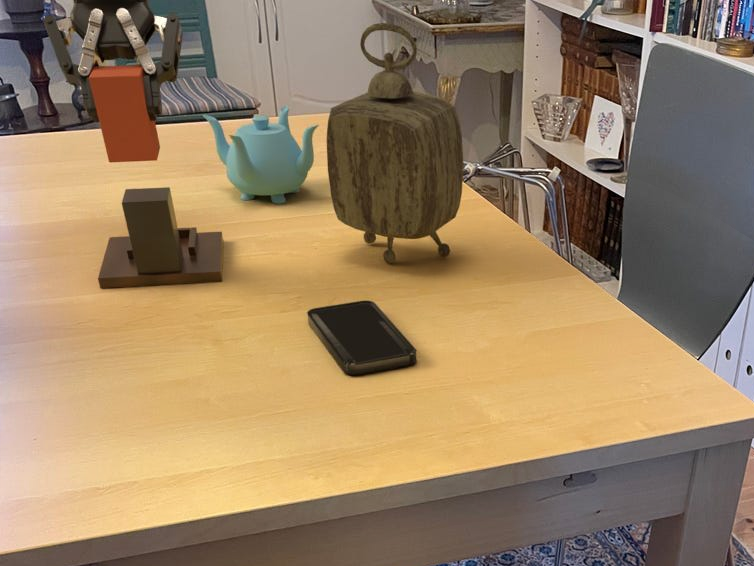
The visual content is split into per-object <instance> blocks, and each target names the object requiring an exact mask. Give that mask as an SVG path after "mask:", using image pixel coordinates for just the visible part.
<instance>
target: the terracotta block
mask: <svg viewBox="0 0 754 566" xmlns="http://www.w3.org/2000/svg"><path fill="white" fill-rule="evenodd" d="M143 76H145V72H144V69H143V67H142V65H138V64H135V65H134V64H132V65H131V64H130V65H105V66H95V67H94V69H93V71H92V73H91V74H90V76H89V80H90V85H91V89H92V93H93V97H94V101H95V105H96V110H97V114H98V118H99V122H100V123H99V126H100V130H101V135H102V139H103V143H104V148H105V151H106V155H107V159H108V163H131V162H132V163H135V162H154V161H155V162H156V161H158V159H159V154H160V149H161V144H160V139H159V135H158V129H157V124H156V121H150V118H149V115H148V112H147V108H146V99H145V90H144V82H143Z"/></svg>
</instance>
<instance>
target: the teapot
mask: <svg viewBox="0 0 754 566" xmlns="http://www.w3.org/2000/svg"><path fill="white" fill-rule="evenodd" d="M289 111H290V107H289V105H284V106H282V107H281V108H280V110H279V115H278V120H277V123H275V122H269V121H270V116H269V117H268V116H266V115H256V116H254V117H252V118H251V120H252V123H247V124H245V125H241V126H240V127H239V128H237V129H236V131H235V133H234V135H232V134H229V135H228V137H229V138H230V139H231V143H230V144H229V143H228V141H227V139H226V136H225V133H224V129H223V126H222V124H221V123H220V122H219V120H218V119H216V118H215V117H213V116H212V115H209V114H202V117H203V118H204V119H205V120H206V121H207V122H208V123H209V125H210V127H211V129H212V132H213V134H214V142H215V148H216V149H215V150H216V153H217V155H218V158H219V160H220V161H221V162H222V164H223V165H224V166H225V168H226V169H225V170H226V171H225V172H226V177H227V179H228V181H229V182H230V183H231V185H232V186H234V187H235V188H236V189H237V190H238V191H239V192H241V196H240V197H239V199H240V200H242V201H251V200H254V199H255V198H256V196H270V198H271V199H270V200H271V203H273V204H284V203H286V201H287V200H286V198H285V197H286V196H285V195H284V194H297V193H299V192H301V191H300V188H301V187H302V186H303V184H304V182H305V181H306V179H307V177H308V175H309V174H308V173H309V171H310V170H311V169H312V167H313V165H314V161H315V152H314V146H313V145H314V144H313V137H314V133H315V130H317V128H318V127H319V126H320V124H315V125H311V126H307V127H306V128H305V129H304V131H303V134H302V144H301V145H302V147H301V146H300V145H299V143H298V142H297V141H296V138H295V137H294V136H293V135H292V133H291V129H290V124H289Z"/></svg>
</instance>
